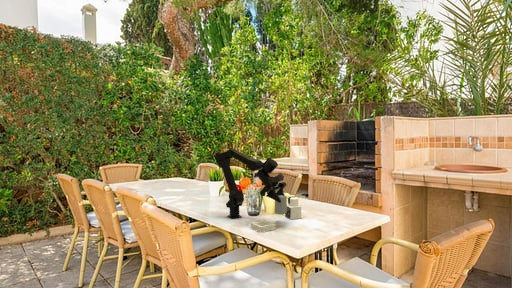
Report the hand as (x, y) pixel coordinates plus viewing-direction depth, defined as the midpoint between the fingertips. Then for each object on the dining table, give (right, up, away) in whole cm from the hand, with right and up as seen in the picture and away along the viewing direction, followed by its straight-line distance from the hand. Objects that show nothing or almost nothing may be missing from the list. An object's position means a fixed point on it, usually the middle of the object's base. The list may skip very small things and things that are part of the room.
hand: (282, 201), depth 185 cm
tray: (-11, -14, -4) cm, 18 cm away
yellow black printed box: (+7, -13, +18) cm, 24 cm away
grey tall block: (-1, -7, +1) cm, 7 cm away
